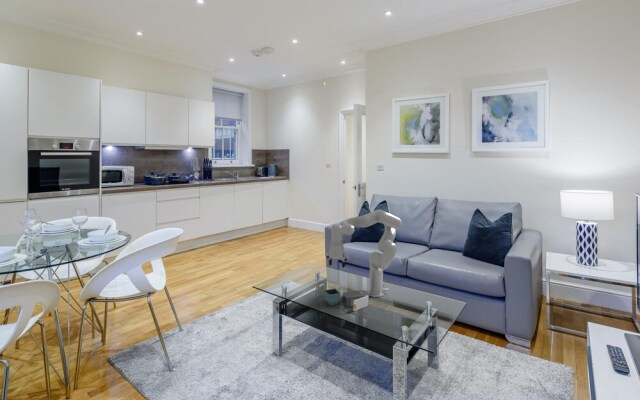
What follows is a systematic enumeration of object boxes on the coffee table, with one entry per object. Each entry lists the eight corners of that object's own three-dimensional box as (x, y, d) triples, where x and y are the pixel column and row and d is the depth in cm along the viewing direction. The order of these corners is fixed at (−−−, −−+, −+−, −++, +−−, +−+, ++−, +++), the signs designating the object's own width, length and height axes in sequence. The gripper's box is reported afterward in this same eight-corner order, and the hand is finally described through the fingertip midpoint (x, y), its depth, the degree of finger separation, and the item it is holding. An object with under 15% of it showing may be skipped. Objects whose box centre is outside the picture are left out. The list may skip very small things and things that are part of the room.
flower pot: (323, 302, 242) (323, 290, 241) (335, 300, 246) (335, 288, 244) (328, 307, 234) (329, 295, 233) (340, 305, 238) (340, 293, 237)
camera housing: (363, 299, 247) (364, 289, 246) (368, 305, 239) (368, 294, 237) (340, 301, 243) (341, 291, 242) (344, 307, 235) (344, 297, 233)
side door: (367, 305, 238) (367, 295, 237) (369, 306, 237) (369, 296, 236) (353, 310, 230) (353, 300, 229) (355, 311, 228) (355, 301, 227)
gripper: (323, 242, 239) (323, 266, 242) (346, 245, 232) (346, 269, 235) (327, 239, 246) (327, 262, 249) (350, 242, 239) (350, 266, 241)
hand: (337, 266), depth 242 cm, fingers open, 9 cm apart
